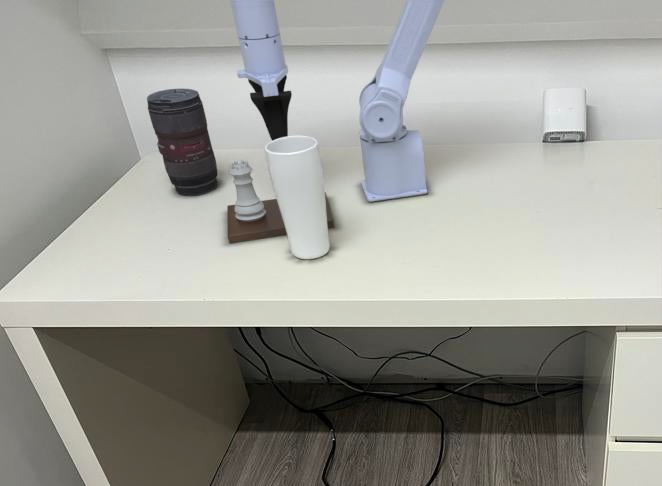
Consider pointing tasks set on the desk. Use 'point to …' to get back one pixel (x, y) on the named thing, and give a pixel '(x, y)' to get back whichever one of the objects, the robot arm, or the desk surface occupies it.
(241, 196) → the rook chess piece
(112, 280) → the desk surface
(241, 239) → the walnut board
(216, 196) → the desk surface
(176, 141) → the camera lens
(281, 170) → the drinking glass
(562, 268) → the desk surface
